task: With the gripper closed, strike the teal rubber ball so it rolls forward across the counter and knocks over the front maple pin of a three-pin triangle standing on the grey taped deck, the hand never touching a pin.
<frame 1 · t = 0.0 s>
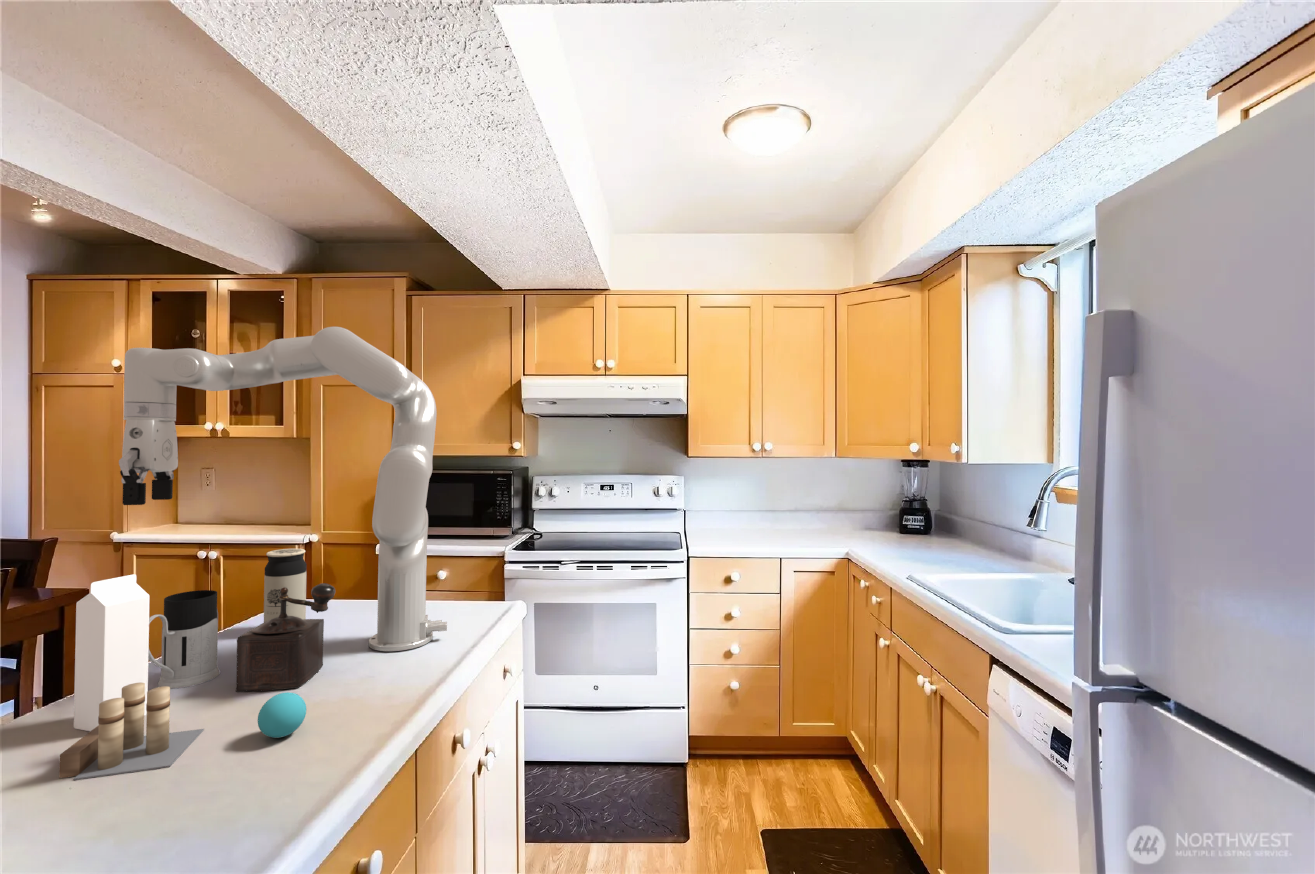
hand: (148, 502, 108), 31 cm above the countertop, tool pointing down, fingers open, 9 cm apart
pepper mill: (295, 679, 103), on the countertop
travel mug: (284, 631, 128), on the countertop
glass holder: (177, 685, 100), on the countertop
back wall: (91, 758, 77), on the countertop
pin deck mark: (144, 752, 78), on the countertop
rear pin b: (110, 765, 75), on the countertop
rear pin a: (132, 746, 80), on the countertop
ball: (282, 714, 83), on the countertop
front pin: (157, 751, 78), on the countertop
milk: (111, 722, 86), on the countertop
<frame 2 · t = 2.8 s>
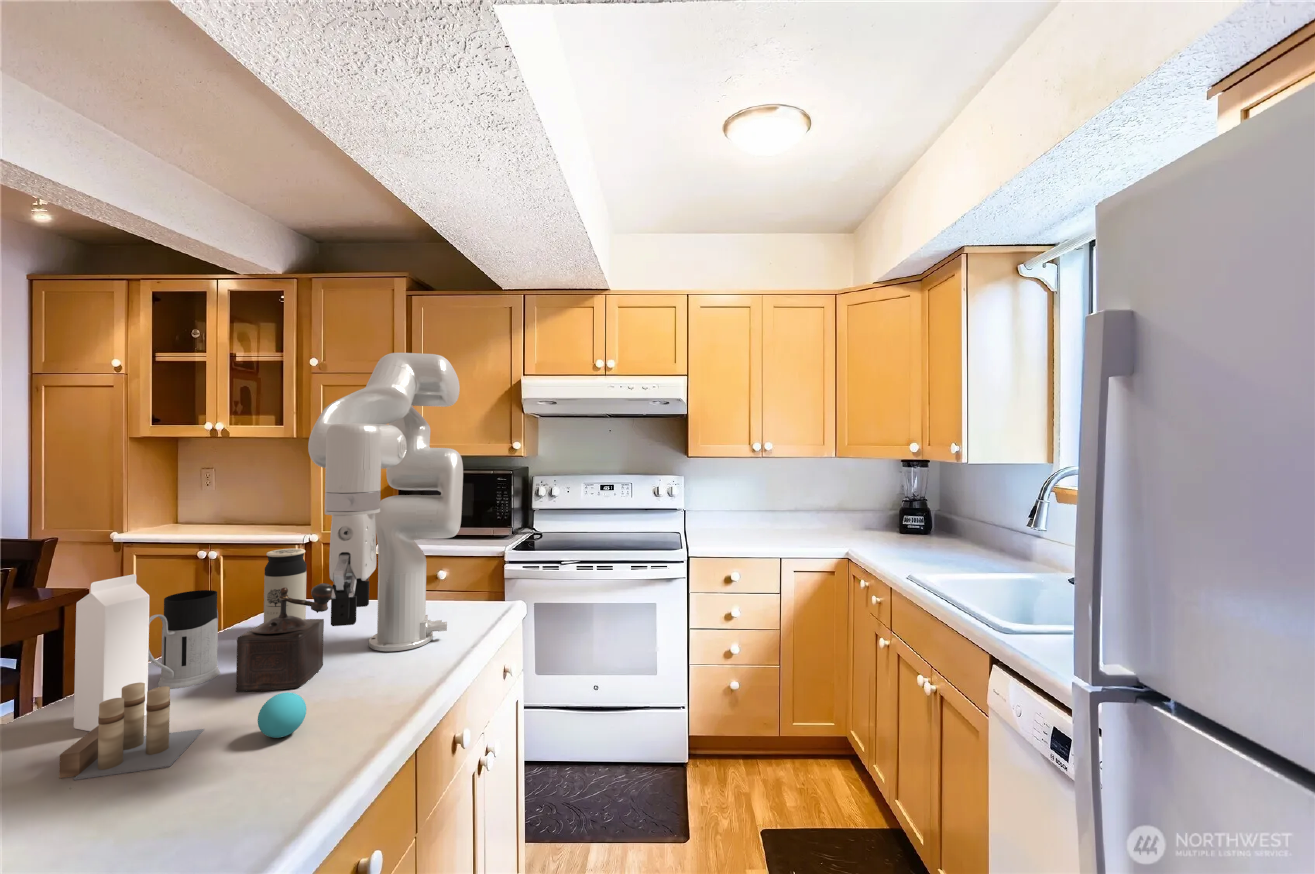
hand: (350, 615, 86), 17 cm above the countertop, tool pointing down, fingers open, 9 cm apart
nothing on the countertop moved.
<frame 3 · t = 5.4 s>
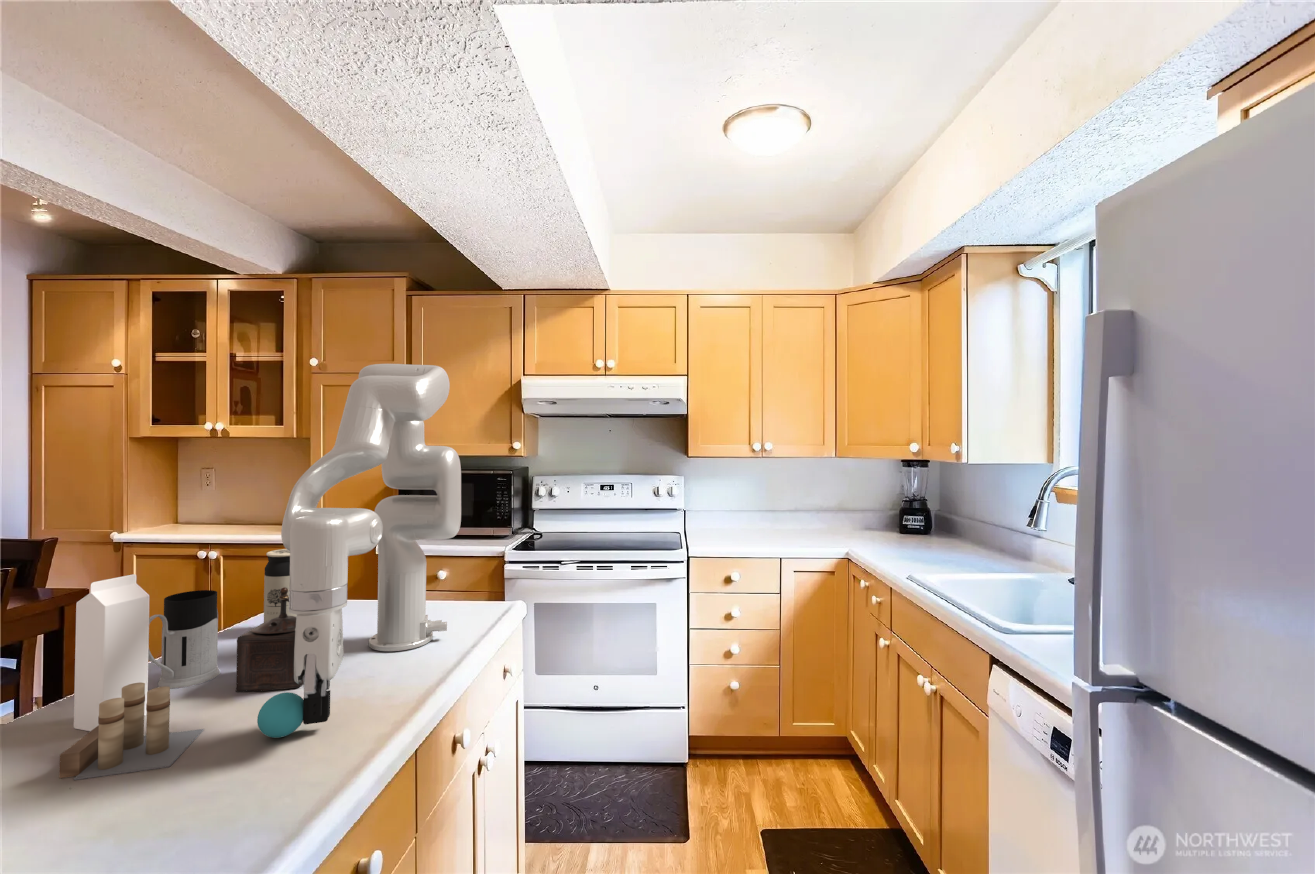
hand: (316, 720, 84), 2 cm above the countertop, tool pointing down, fingers closed
ball: (282, 714, 83), on the countertop, touching gripper
everything else where it was.
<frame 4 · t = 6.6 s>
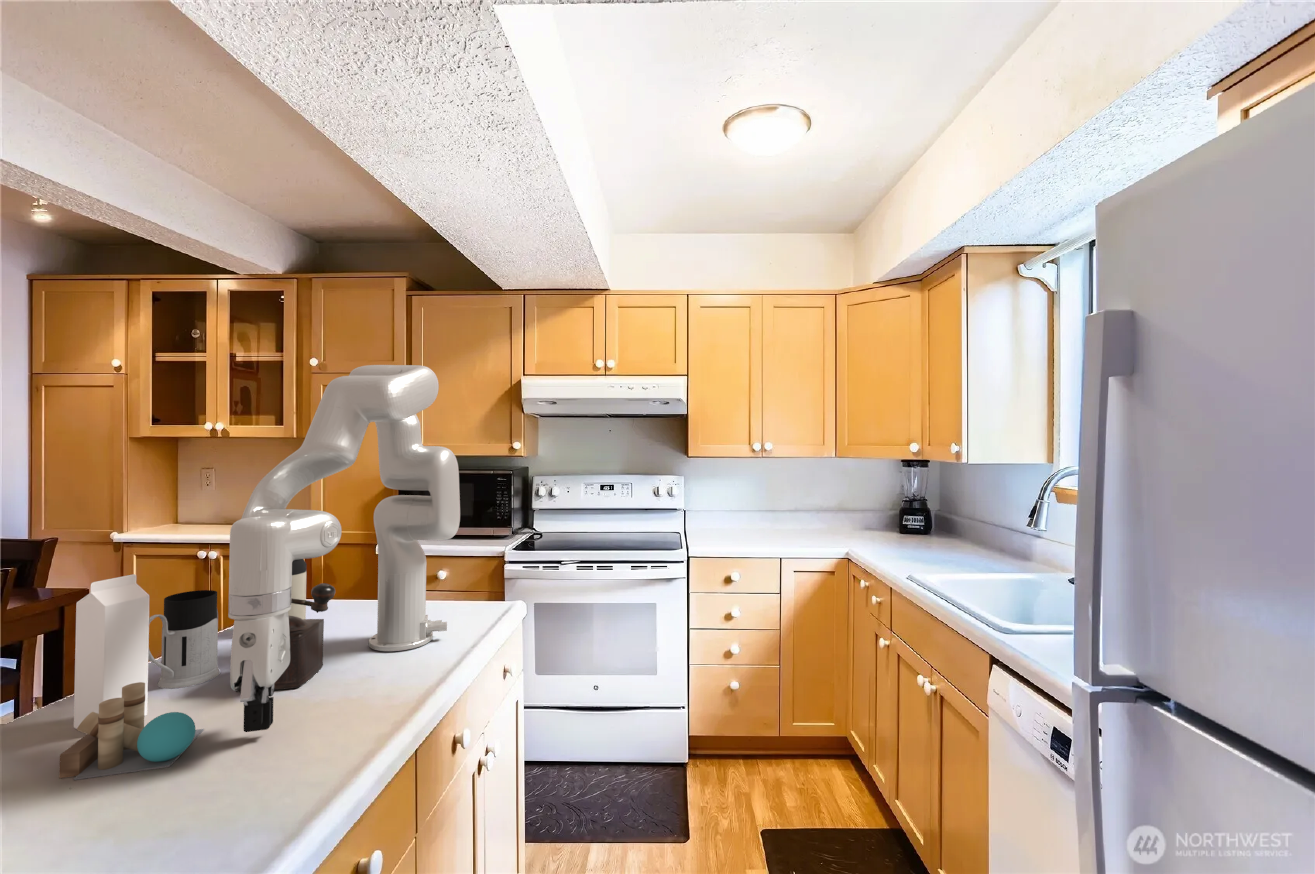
hand: (258, 727, 82), 2 cm above the countertop, tool pointing down, fingers closed
ball: (167, 736, 77), on the countertop
front pin: (151, 744, 78), point 1 cm above the countertop, tilted 60°, touching back wall
everything else where it was.
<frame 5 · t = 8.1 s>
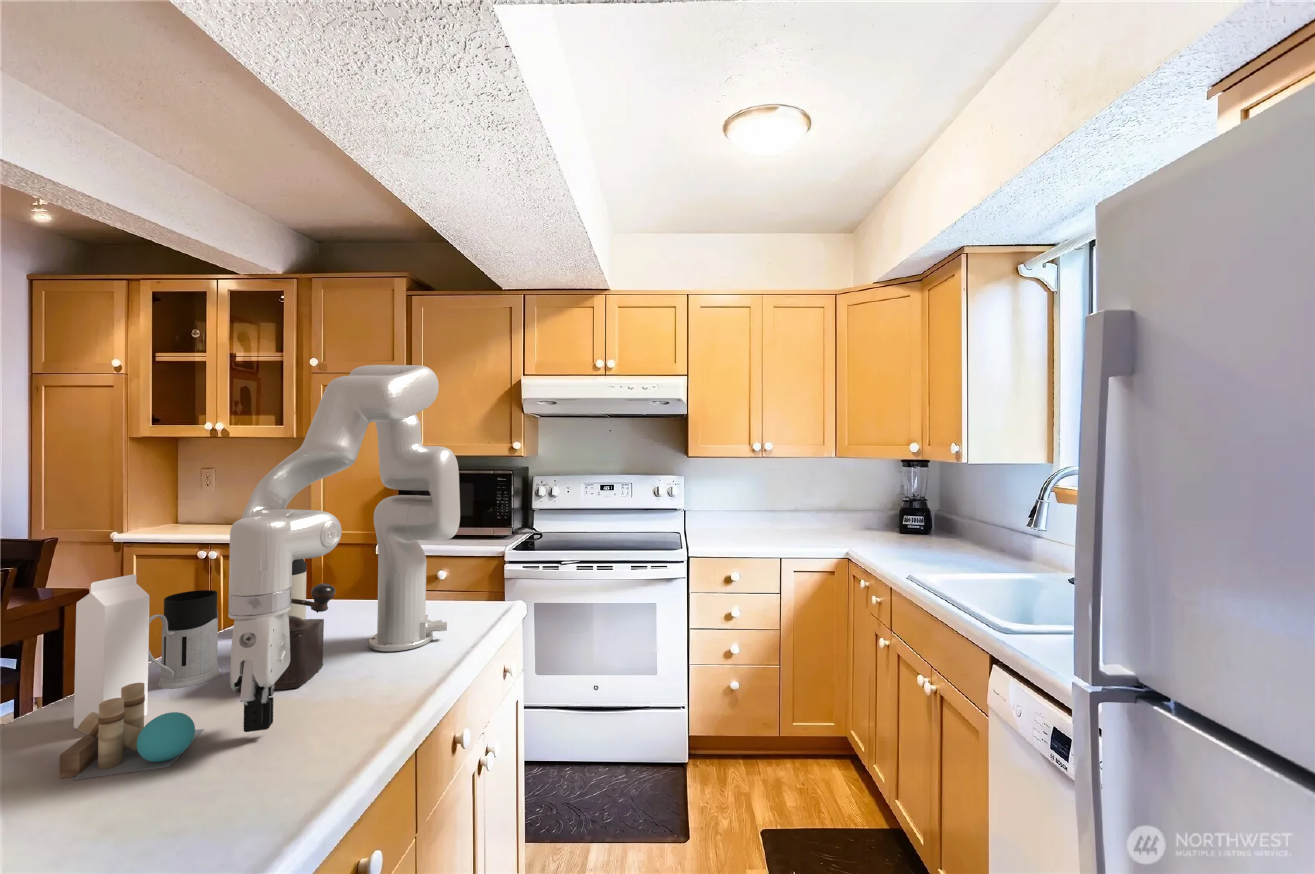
hand: (258, 727, 82), 2 cm above the countertop, tool pointing down, fingers closed
nothing on the countertop moved.
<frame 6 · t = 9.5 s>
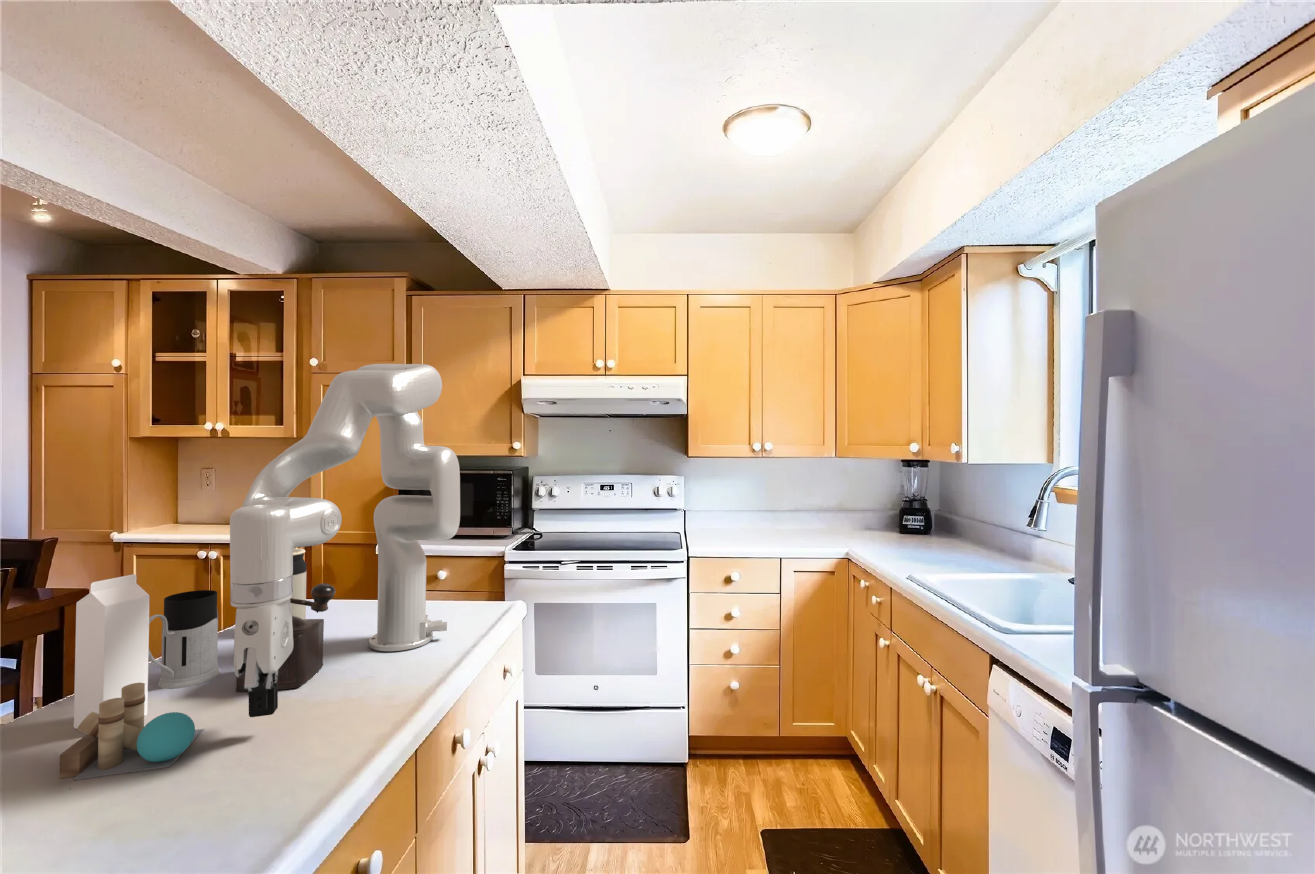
hand: (263, 712, 83), 3 cm above the countertop, tool pointing down, fingers closed
nothing on the countertop moved.
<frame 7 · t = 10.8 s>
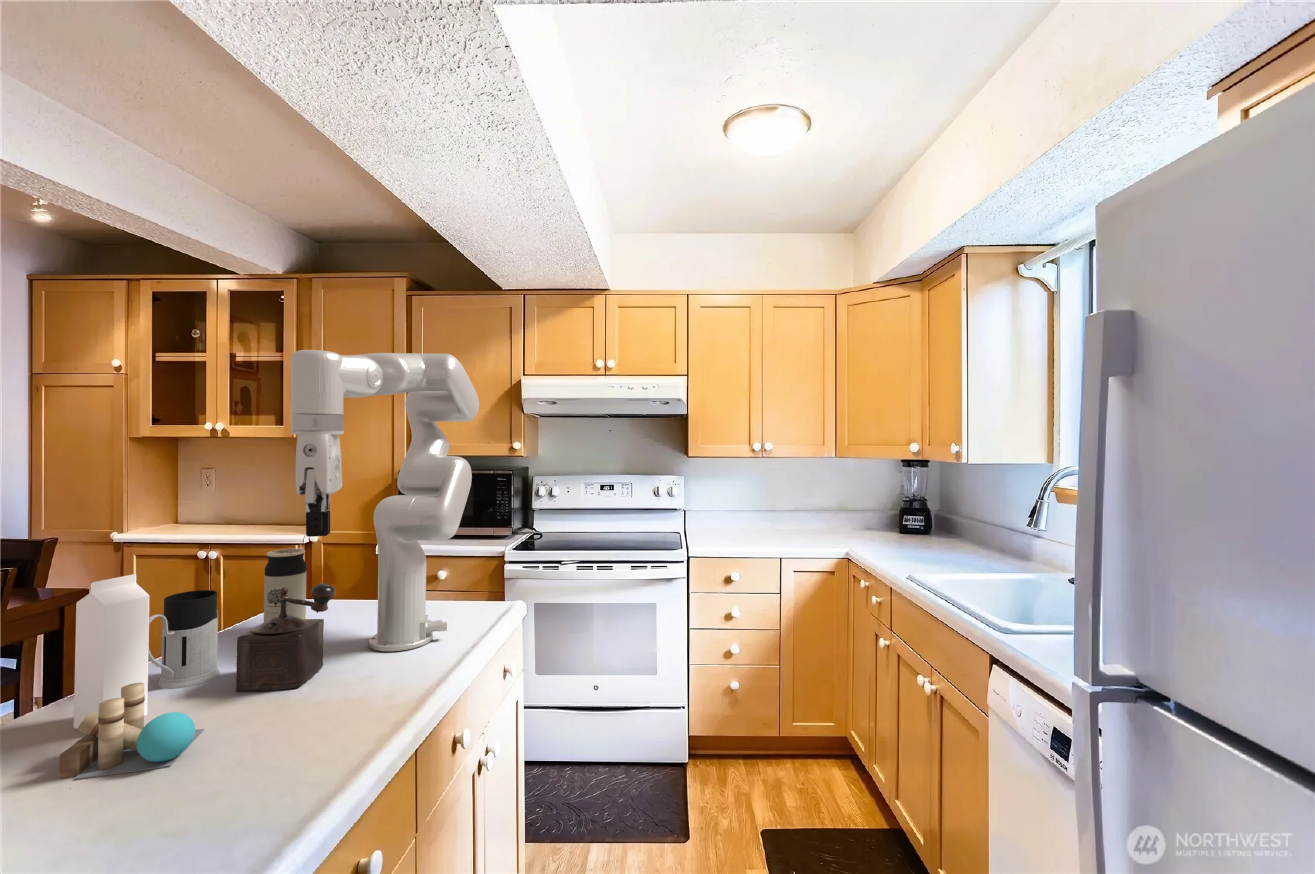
hand: (318, 535, 94), 28 cm above the countertop, tool pointing down, fingers closed
nothing on the countertop moved.
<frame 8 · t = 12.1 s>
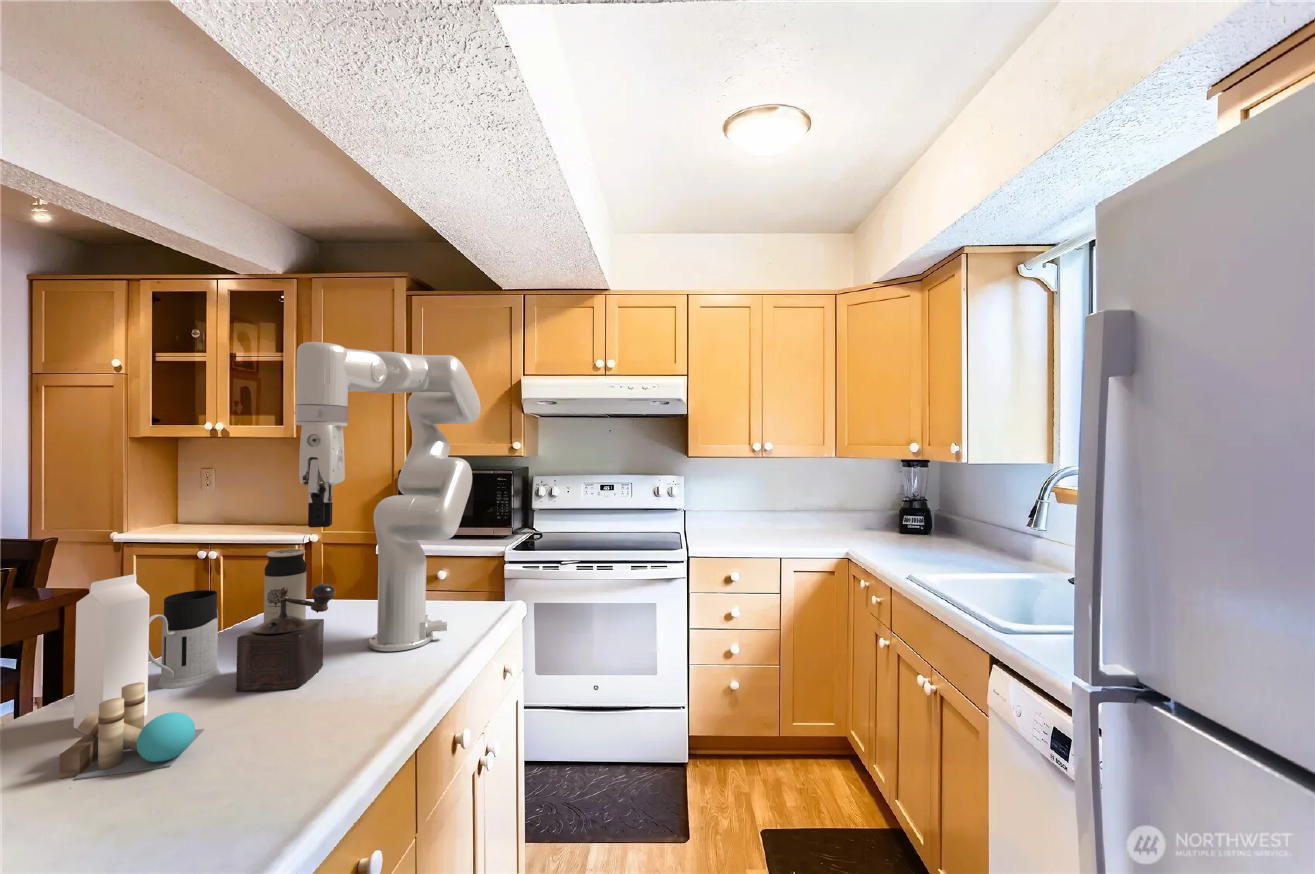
hand: (320, 526, 94), 29 cm above the countertop, tool pointing down, fingers closed
nothing on the countertop moved.
at the end: front pin tilted 60°; front pin never touched the robot; ball moved 13.2 cm from its start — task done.
